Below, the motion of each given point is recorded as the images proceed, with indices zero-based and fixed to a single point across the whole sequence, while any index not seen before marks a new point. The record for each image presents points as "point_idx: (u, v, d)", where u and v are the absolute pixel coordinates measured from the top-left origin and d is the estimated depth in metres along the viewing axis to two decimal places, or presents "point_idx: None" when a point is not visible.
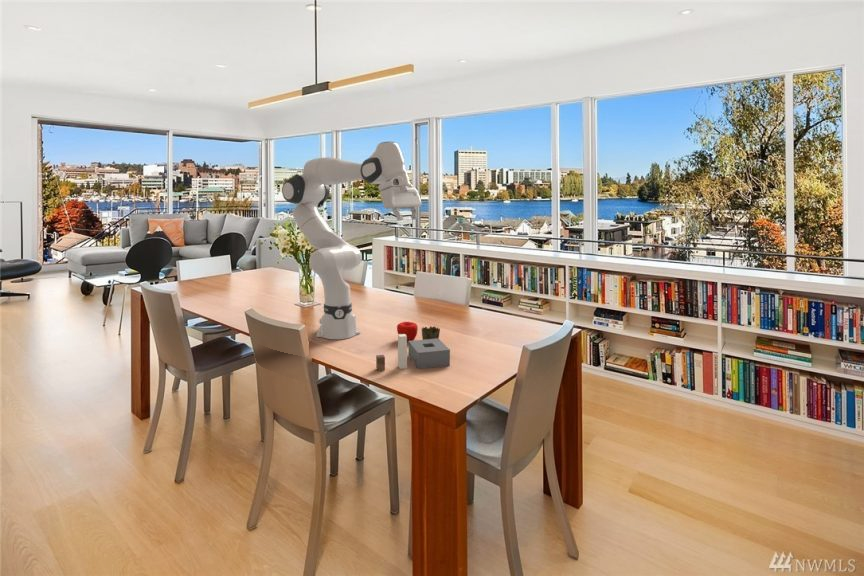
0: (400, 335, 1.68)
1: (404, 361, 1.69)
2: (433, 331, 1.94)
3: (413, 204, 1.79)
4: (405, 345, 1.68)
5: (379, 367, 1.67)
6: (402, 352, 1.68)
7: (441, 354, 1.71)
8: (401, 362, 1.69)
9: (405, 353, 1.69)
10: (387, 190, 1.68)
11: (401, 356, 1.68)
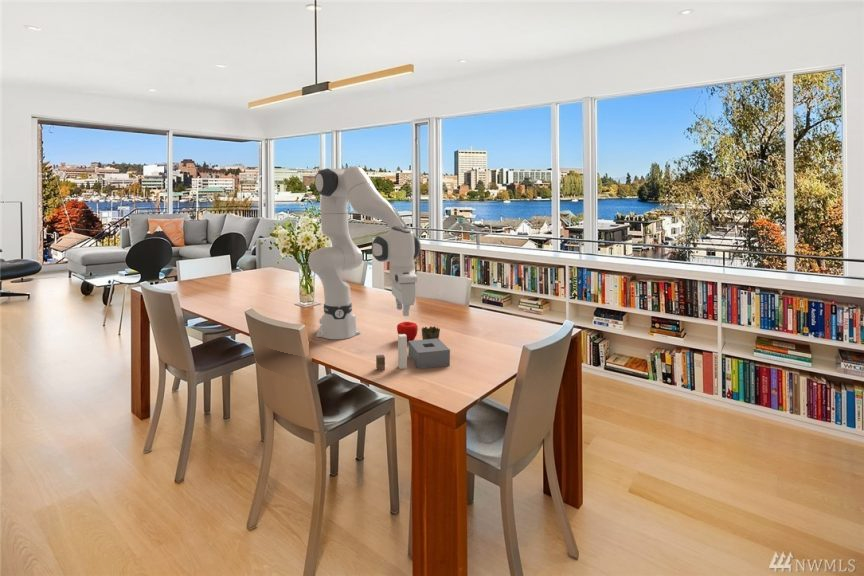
0: (400, 335, 1.68)
1: (404, 361, 1.69)
2: (433, 331, 1.94)
3: None
4: (405, 345, 1.68)
5: (379, 367, 1.67)
6: (402, 352, 1.68)
7: (441, 354, 1.71)
8: (401, 362, 1.69)
9: (405, 353, 1.69)
10: (411, 286, 1.56)
11: (401, 356, 1.68)
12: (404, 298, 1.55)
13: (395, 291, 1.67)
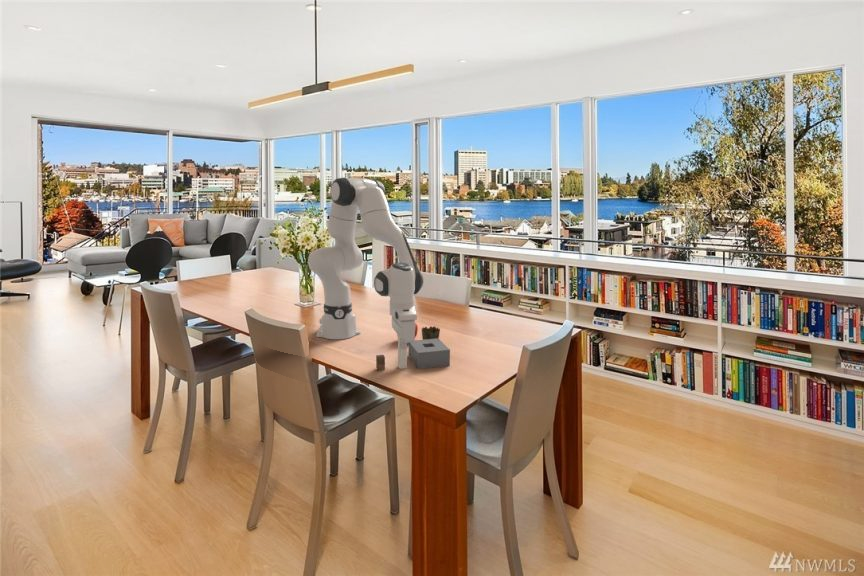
0: None
1: (404, 361, 1.69)
2: (433, 331, 1.94)
3: None
4: None
5: (379, 367, 1.67)
6: (402, 352, 1.68)
7: (441, 354, 1.71)
8: (401, 362, 1.69)
9: (405, 353, 1.69)
10: (411, 324, 1.59)
11: (401, 356, 1.68)
12: (404, 336, 1.58)
13: (395, 326, 1.70)
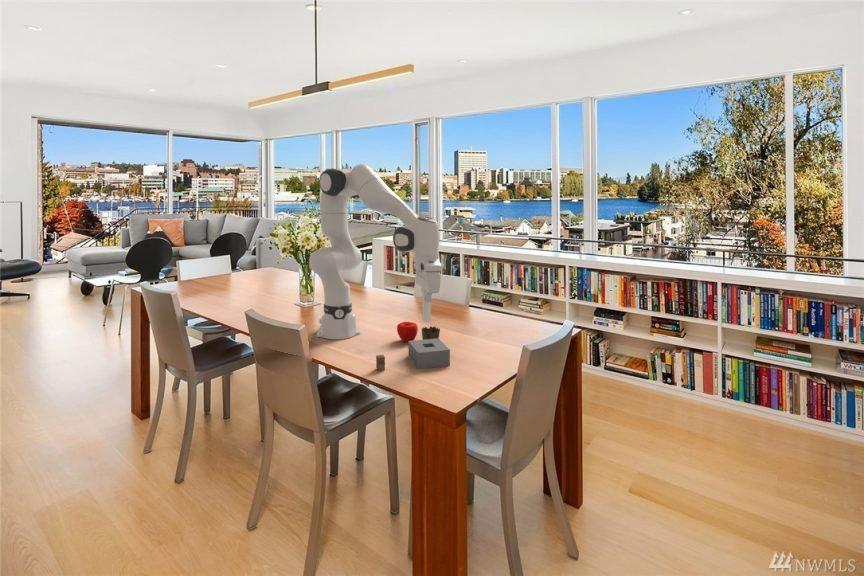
0: None
1: (429, 314, 1.72)
2: (433, 331, 1.94)
3: None
4: None
5: (379, 367, 1.67)
6: (426, 305, 1.71)
7: (441, 354, 1.71)
8: (425, 315, 1.72)
9: (429, 306, 1.72)
10: (437, 275, 1.62)
11: (425, 309, 1.71)
12: (430, 286, 1.61)
13: (419, 280, 1.73)
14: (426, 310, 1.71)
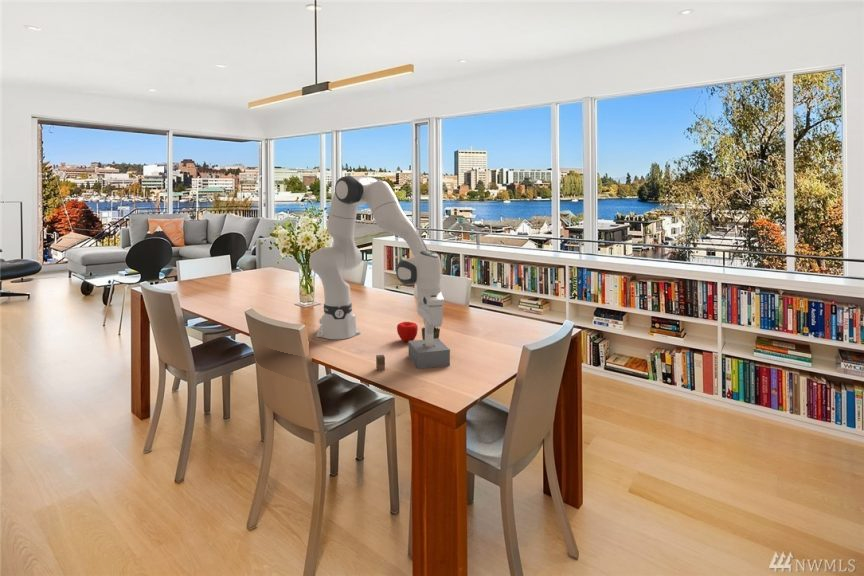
0: None
1: (431, 345, 1.75)
2: None
3: None
4: None
5: (379, 367, 1.67)
6: (429, 336, 1.74)
7: (441, 354, 1.71)
8: (428, 346, 1.75)
9: (432, 338, 1.75)
10: (439, 309, 1.65)
11: (428, 341, 1.75)
12: (432, 320, 1.64)
13: (422, 312, 1.76)
14: (428, 342, 1.75)
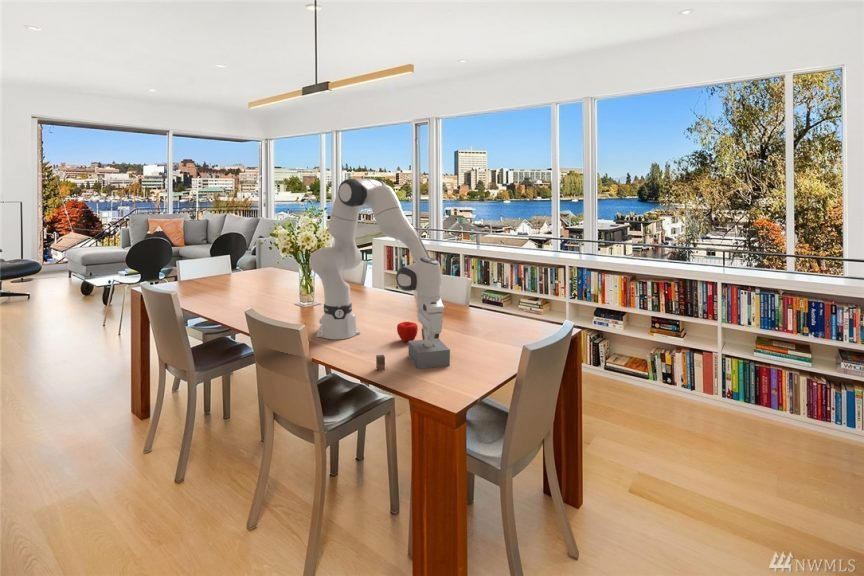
0: (426, 329, 1.75)
1: None
2: None
3: None
4: None
5: (379, 367, 1.67)
6: (428, 345, 1.75)
7: (441, 354, 1.71)
8: None
9: None
10: (439, 316, 1.65)
11: None
12: (432, 327, 1.65)
13: (422, 318, 1.77)
14: None
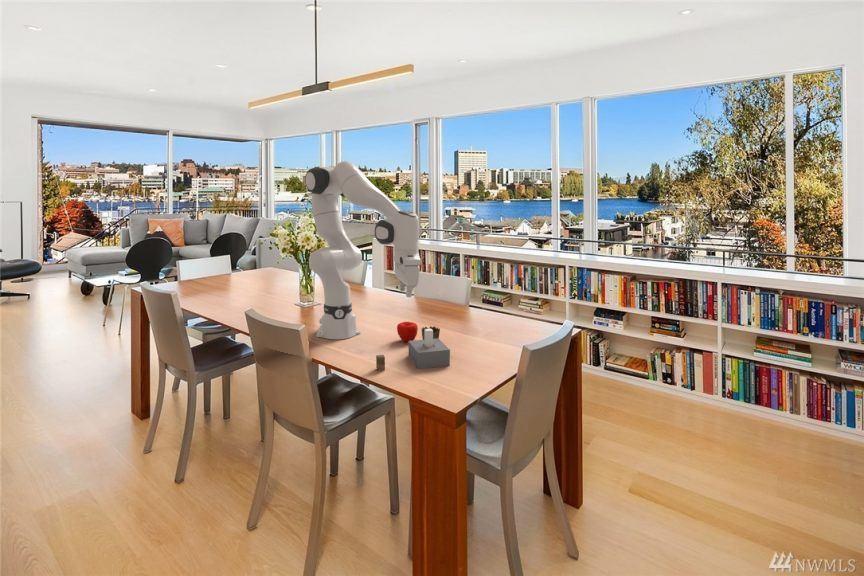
0: (426, 329, 1.75)
1: None
2: (433, 331, 1.94)
3: None
4: (431, 339, 1.75)
5: (379, 367, 1.67)
6: (428, 345, 1.75)
7: (441, 354, 1.71)
8: None
9: None
10: (415, 269, 1.63)
11: None
12: (408, 280, 1.63)
13: (399, 273, 1.74)
14: None
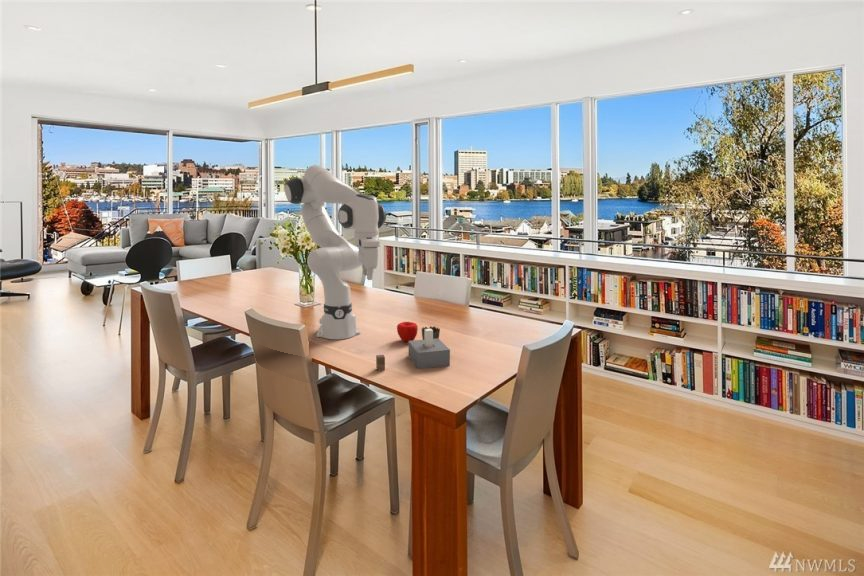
0: (426, 329, 1.75)
1: None
2: (433, 331, 1.94)
3: None
4: (431, 339, 1.75)
5: (379, 367, 1.67)
6: (428, 345, 1.75)
7: (441, 354, 1.71)
8: None
9: None
10: (374, 250, 1.63)
11: None
12: (367, 261, 1.63)
13: (361, 257, 1.74)
14: None
